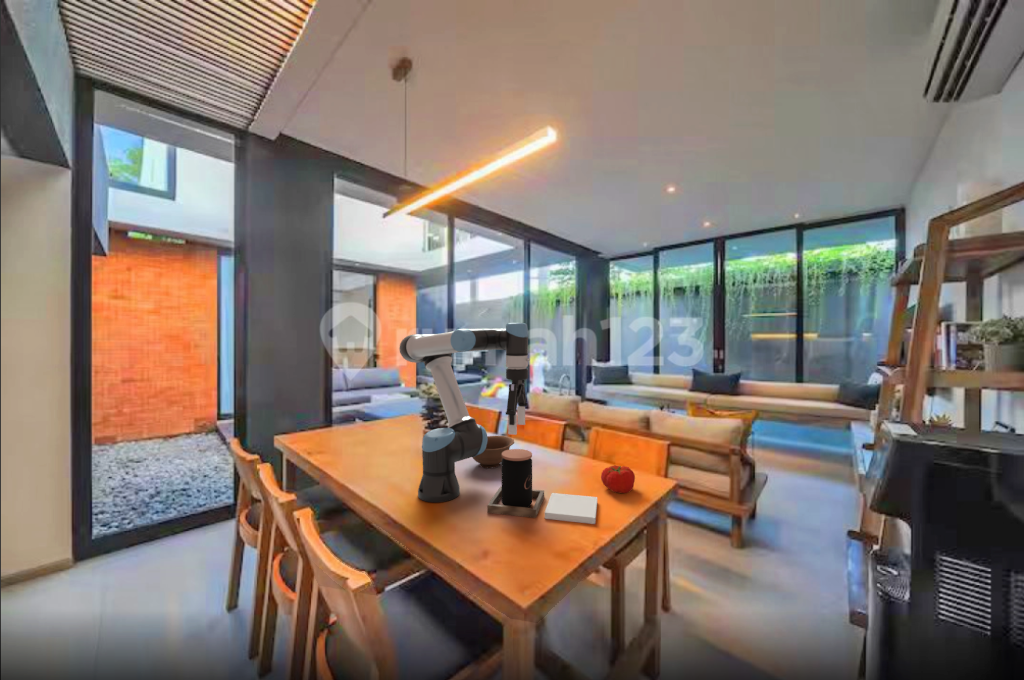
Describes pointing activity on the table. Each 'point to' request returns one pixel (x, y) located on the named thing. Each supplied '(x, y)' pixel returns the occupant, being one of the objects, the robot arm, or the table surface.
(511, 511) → the holder
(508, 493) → the coffee jar
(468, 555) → the table surface
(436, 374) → the robot arm
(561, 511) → the tile
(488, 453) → the bowl
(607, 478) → the tomato
